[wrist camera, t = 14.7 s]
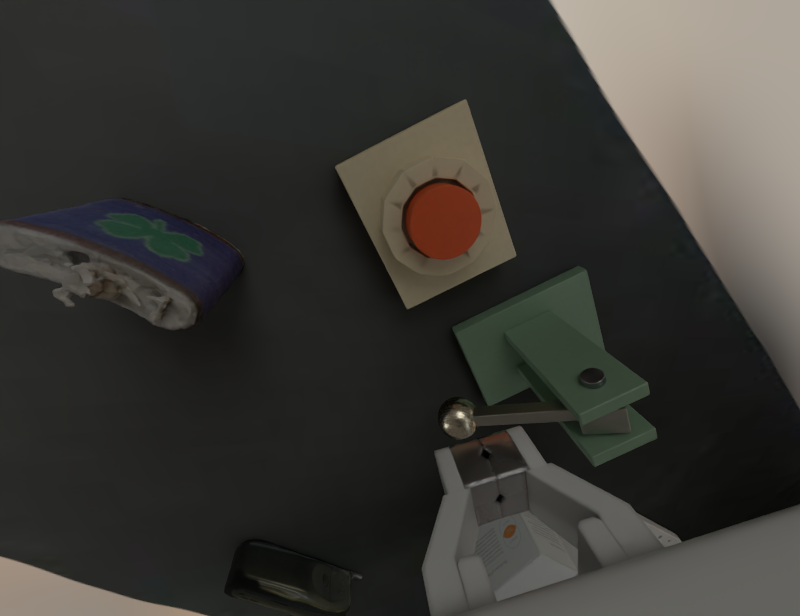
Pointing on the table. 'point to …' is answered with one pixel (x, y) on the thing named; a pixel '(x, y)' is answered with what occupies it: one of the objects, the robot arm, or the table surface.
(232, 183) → the table surface
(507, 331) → the switch bracket
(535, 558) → the small box
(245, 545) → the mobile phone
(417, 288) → the button housing
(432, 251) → the button
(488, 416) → the lever
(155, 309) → the flask
